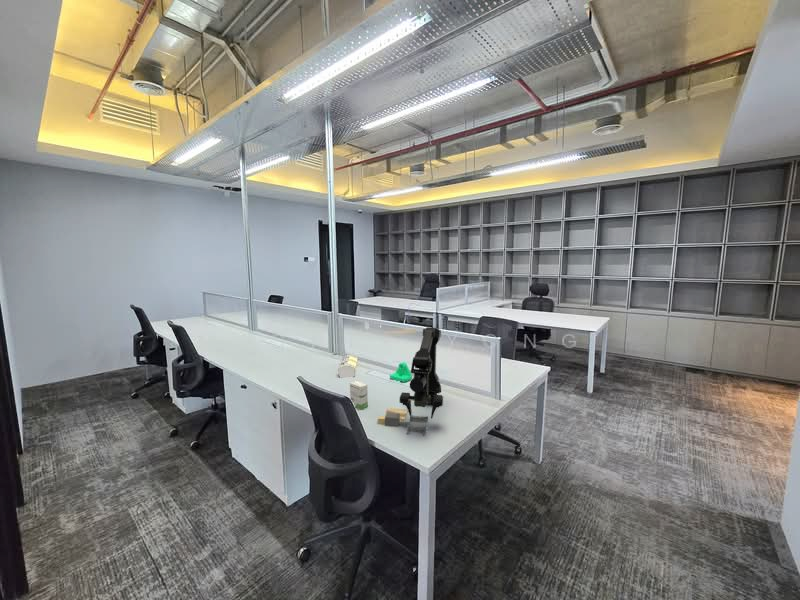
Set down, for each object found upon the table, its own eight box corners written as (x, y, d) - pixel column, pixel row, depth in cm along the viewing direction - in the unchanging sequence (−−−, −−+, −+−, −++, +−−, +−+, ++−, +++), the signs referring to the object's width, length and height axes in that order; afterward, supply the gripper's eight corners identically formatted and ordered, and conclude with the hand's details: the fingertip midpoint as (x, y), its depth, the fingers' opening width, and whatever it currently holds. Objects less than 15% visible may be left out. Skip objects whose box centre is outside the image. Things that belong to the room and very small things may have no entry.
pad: (387, 409, 162) (387, 408, 162) (407, 410, 160) (407, 409, 160) (383, 418, 152) (383, 417, 152) (404, 420, 150) (404, 419, 150)
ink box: (368, 407, 164) (368, 384, 162) (360, 410, 160) (360, 387, 159) (357, 401, 170) (357, 380, 168) (349, 404, 166) (349, 382, 165)
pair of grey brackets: (411, 416, 154) (411, 412, 153) (428, 418, 152) (428, 414, 152) (406, 433, 138) (406, 429, 138) (425, 435, 137) (425, 431, 137)
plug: (379, 420, 150) (379, 412, 150) (410, 422, 148) (410, 414, 147) (377, 425, 146) (377, 416, 145) (409, 427, 143) (409, 419, 143)
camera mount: (389, 379, 203) (389, 363, 202) (396, 375, 209) (397, 360, 208) (404, 383, 196) (404, 367, 194) (412, 380, 202) (412, 364, 200)
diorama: (343, 365, 230) (342, 347, 228) (357, 365, 231) (357, 347, 229) (338, 378, 205) (338, 357, 204) (355, 377, 206) (354, 357, 204)
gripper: (397, 389, 136) (397, 424, 138) (442, 392, 133) (441, 428, 135) (401, 379, 147) (401, 412, 149) (443, 382, 144) (442, 415, 146)
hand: (421, 417), depth 144 cm, fingers open, 9 cm apart
